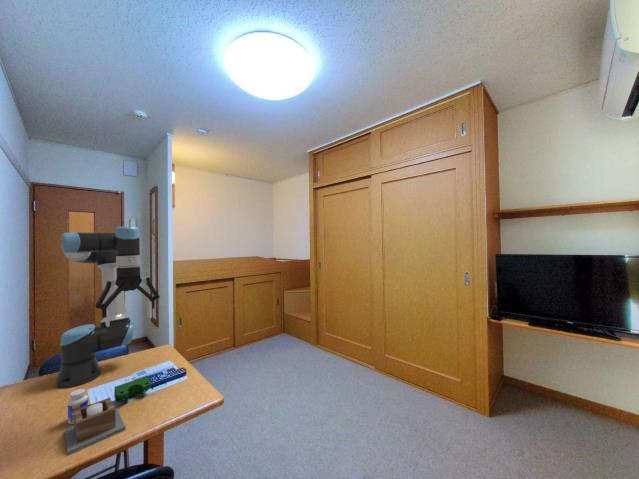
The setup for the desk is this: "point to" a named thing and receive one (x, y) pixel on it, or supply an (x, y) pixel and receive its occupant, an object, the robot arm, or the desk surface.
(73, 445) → the gray base with post
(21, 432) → the desk surface
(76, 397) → the pill bottle
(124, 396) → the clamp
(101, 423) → the wooden box
